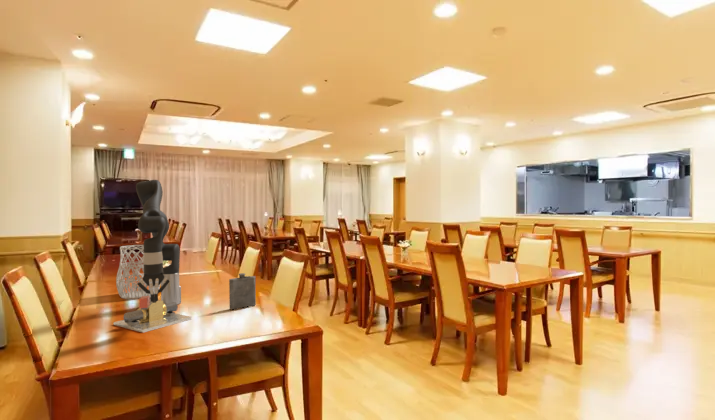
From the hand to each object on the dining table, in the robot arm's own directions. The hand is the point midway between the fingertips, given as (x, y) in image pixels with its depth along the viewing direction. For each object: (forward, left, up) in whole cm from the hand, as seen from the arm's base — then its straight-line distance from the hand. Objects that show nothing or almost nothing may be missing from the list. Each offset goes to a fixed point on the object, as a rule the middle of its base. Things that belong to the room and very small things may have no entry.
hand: (154, 302), depth 180 cm
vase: (-39, -77, -13) cm, 87 cm away
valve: (-8, -15, -12) cm, 21 cm away
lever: (-2, -8, -3) cm, 9 cm away
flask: (-49, +1, -13) cm, 51 cm away
